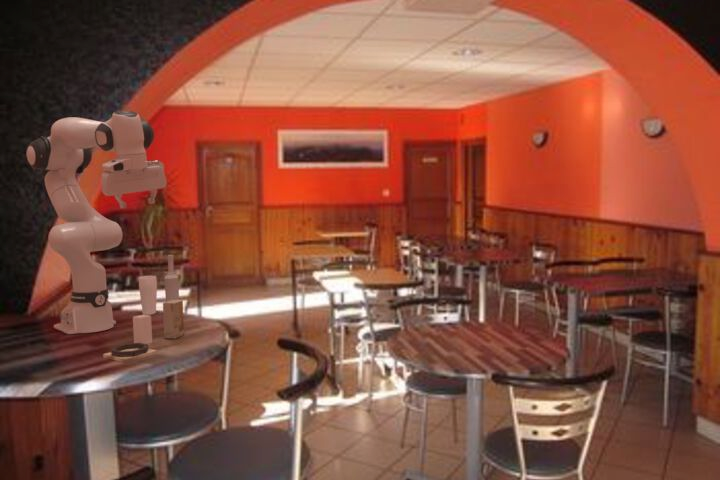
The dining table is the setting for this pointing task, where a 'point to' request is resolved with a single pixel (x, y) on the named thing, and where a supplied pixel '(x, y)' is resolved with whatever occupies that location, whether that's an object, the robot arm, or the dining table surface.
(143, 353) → the board
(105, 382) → the dining table surface
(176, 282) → the bottle
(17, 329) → the dining table surface
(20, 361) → the dining table surface
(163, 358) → the dining table surface
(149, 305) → the drinking glass
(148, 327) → the carton
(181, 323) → the skincare box
